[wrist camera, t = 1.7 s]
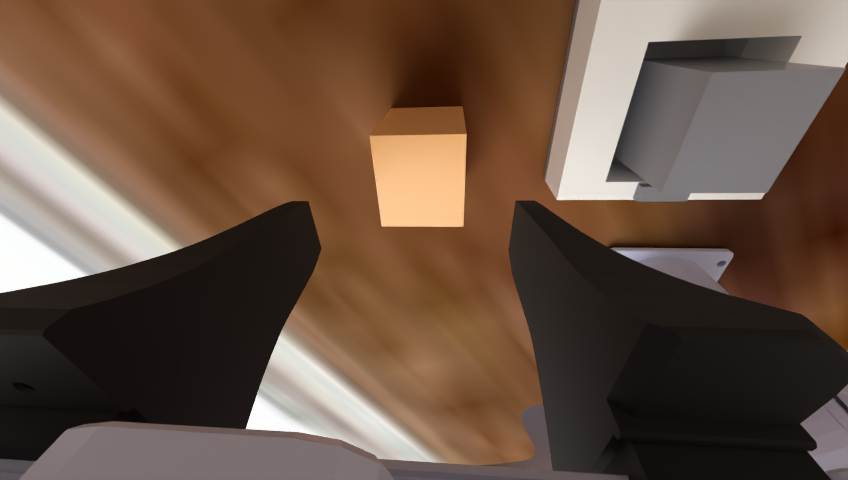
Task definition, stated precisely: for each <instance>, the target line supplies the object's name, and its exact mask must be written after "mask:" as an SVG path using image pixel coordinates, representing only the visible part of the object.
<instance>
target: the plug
mask: <svg viewBox="0 0 848 480" xmlns="http://www.w3.org/2000/svg"><path fill="white" fill-rule="evenodd" d="M466 139H467V133H466V126H465V119H464V111H463V106H455V107H417V108H391V109H390V110H389V111H388V113H387V114H386V115H385V117H384V118H383V119H382V120H381V122H380V123H379V124H378V126H377V127H376V128H375V130H374V131H373V132H372V133H371V135H370V142H371V150H372V157H373V164H374V172H375V179H376V187H377V194H378V202H379V209H380V216H381V224H382V226H434V227H463V219H464V193H465V166H466Z"/></svg>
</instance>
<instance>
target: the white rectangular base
mask: <svg viewBox="0 0 848 480" xmlns="http://www.w3.org/2000/svg"><path fill="white" fill-rule="evenodd" d="M847 62H848V0H576V3H575V9H574V14H573V19H572V25H571V30H570V36H569V41H568V46H567V52H566V57H565V62H564V68H563V73H562V79H561V84H560V89H559V95H558V100H557V105H556V111H555V116H554V122H553V127H552V132H551V138H550V143H549V148H548V154H547V159H546V165H545V170H544V175H543V178H544V180H545V182H546V183H547V185H548V186H549V188H550V190H551V191H552V193H553V195H554V196H555V198H556V199H557V200H635V201H636V202H656V201H687V200H735V199H762V197H763V196H764V194H765V193H767V192H768V191H769V189H770V188H771V186H772V184H773V183H774V181H775V180H776V178H777V177H778V175H779V173H780V172H781V170H782V169H783V167H784V166H785V164H786V162H787V161H788V159H789V158H790V156H791V154H792V153H793V151H794V150H795V148H796V147H797V145H798V143H799V142H800V140H801V139H802V137H803V136H804V134H805V132H806V131H807V129H808V128H809V126H810V125H811V123H812V121H813V120H814V118H815V117H816V115H817V113H818V112H819V110H820V109H821V107H822V106H823V104H824V102H825V101H826V99H827V98H828V96H829V95H830V93H831V91H832V90H833V88H834V87H835V85H836V83H837V82H838V80H839V79H840V77H841V76H842V74H843V72H844V71H845V69H846V68H844V67H845V66H846V64H847Z"/></svg>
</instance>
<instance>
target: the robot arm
mask: <svg viewBox="0 0 848 480" xmlns="http://www.w3.org/2000/svg"><path fill="white" fill-rule="evenodd" d="M320 251H321V245H320V242H319V238H318V234H317V231H316V227H315V224H314V220H313V216H312V213H311V209H310V206H309V202H308V201H291V202H288V203H285V204H282V205H280V206H278V207H275V208H273V209H271V210H269V211H267V212H264V213H262V214H260V215H258V216H256V217H254V218H252V219H250V220H248V221H246V222H244V223H242V224H239V225H237V226H235V227H233V228H231V229H228V230H226V231H224V232H222V233H219V234H217V235H215V236H213V237H210V238H208V239H206V240H203V241H201V242H198V243H196V244H193V245H190V246H188V247H185V248H182V249H179V250H177V251H174V252H171V253H168V254H165V255H162V256H159V257H155V258H152V259H149V260H145V261H142V262H139V263H135V264H132V265H129V266H125V267H122V268H118V269H114V270H110V271H106V272H102V273H98V274H94V275H90V276H85V277H81V278H77V279H72V280H67V281H63V282H58V283H53V284H48V285H42V286H37V287H32V288H26V289H21V290H16V291H11V292H5V293H0V480H848V352H847V351H846V350H845V349H844V348H843V347H842V346H840V345H839V344H838V343H837V342H836V341H834V340H833V339H832V338H831V337H829V336H828V335H827V334H826V333H825V332H823V331H822V330H821V329H820V328H819V327H817V326H816V325H815V324H814V323H812V322H811V321H810V320H809V319H808V318H806V317H805V316H803V315H801V314H798V313H795V312H791V311H787V310H783V309H780V308H776V307H772V306H768V305H765V304H761V303H757V302H753V301H750V300H746V299H742V298H738V297H735V296H731V295H730V294H729V293H728V292H727V291H726V290H725V289H724V288H723V287H722V286H721V285H719V284H718V283H717V281H718V280H719V278H720V276H721V275H722V273H723V272H724V270H725V269H726V267H727V266H728V264H729V263H730V261H731V259H732V258H733V253H732V252H731V251H730V250H728V249H707V248H608V247H606V246H604V245H603V244H601V243H599V242H597V241H596V240H594V239H592V238H591V237H589V236H587V235H586V234H584V233H582V232H581V231H579V230H578V229H576V228H574V227H573V226H571V225H570V224H568V223H567V222H566V221H564V220H563V219H561V218H560V217H558V216H557V215H555V214H554V213H553V212H551V211H550V210H548V209H547V208H545V207H544V206H543V205H541V204H539V203H538V202H536V201H516V202H515V209H514V216H513V223H512V231H511V238H510V245H509V256H510V263H511V269H512V275H513V278H514V281H515V285H516V288H517V291H518V295H519V298H520V301H521V304H522V307H523V311H524V314H525V317H526V320H527V324H528V327H529V330H530V334H531V338H532V343H533V348H534V353H535V359H536V364H537V369H538V375H539V381H540V387H541V393H542V398H543V405H544V411H545V418H546V424H547V430H548V438H549V445H550V453H551V459H552V468H553V470H537V469H522V468H521V469H520V468H507V467H506V468H505V467H492V466H477V465H461V464H446V463H431V462H416V461H401V460H385V459H378V458H377V457H376V456H375V455H373V454H371V453H369V452H366V451H364V450H362V449H360V448H358V447H355V446H353V445H351V444H349V443H347V442H344V441H342V440H338V439H332V438H327V437H321V436H316V435H310V434H305V433H299V432H283V431H267V430H250V429H246V426H247V423H248V419H249V416H250V413H251V410H252V407H253V404H254V401H255V398H256V395H257V392H258V389H259V386H260V383H261V381H262V378H263V375H264V373H265V370H266V367H267V365H268V362H269V359H270V357H271V354H272V352H273V349H274V347H275V345H276V342H277V340H278V337H279V335H280V332H281V330H282V328H283V326H284V324H285V322H286V320H287V318H288V317H289V315H290V313H291V311H292V309H293V308H294V306H295V304H296V302H297V300H298V299H299V297H300V295H301V293H302V291H303V290H304V288H305V286H306V284H307V282H308V280H309V278H310V277H311V275H312V273H313V271H314V268H315V266H316V263H317V260H318V257H319V254H320Z"/></svg>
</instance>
